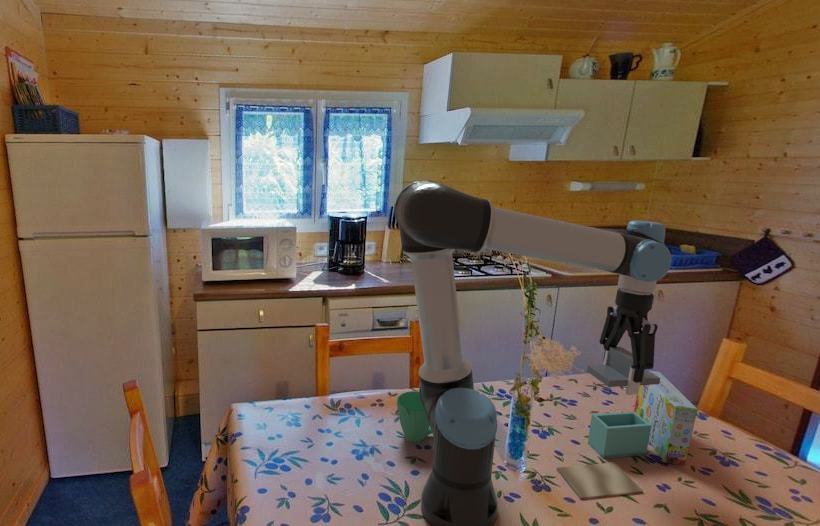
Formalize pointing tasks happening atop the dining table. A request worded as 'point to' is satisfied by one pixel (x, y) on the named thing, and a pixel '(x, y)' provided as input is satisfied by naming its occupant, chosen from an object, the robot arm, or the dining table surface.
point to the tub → (619, 434)
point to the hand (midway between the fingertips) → (619, 384)
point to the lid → (619, 369)
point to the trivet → (598, 480)
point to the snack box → (667, 419)
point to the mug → (413, 417)
